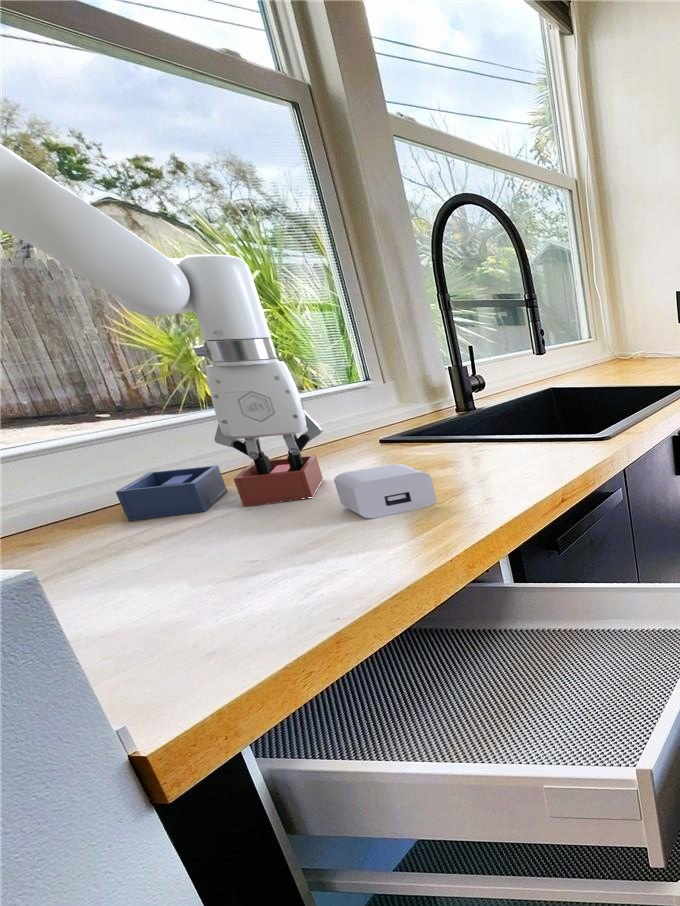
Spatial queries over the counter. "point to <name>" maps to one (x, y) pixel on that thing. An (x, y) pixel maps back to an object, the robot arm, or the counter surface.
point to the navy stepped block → (180, 480)
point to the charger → (385, 490)
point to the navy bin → (171, 493)
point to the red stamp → (281, 469)
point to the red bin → (278, 483)
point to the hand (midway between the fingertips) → (285, 481)
